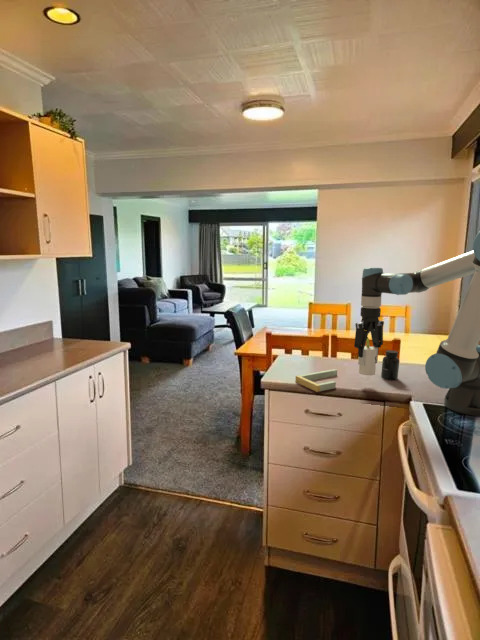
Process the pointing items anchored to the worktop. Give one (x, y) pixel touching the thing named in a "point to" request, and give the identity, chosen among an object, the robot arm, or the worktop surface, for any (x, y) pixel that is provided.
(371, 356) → the candle
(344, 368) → the worktop surface
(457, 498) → the worktop surface
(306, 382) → the rail
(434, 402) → the worktop surface
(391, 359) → the supplement bottle
